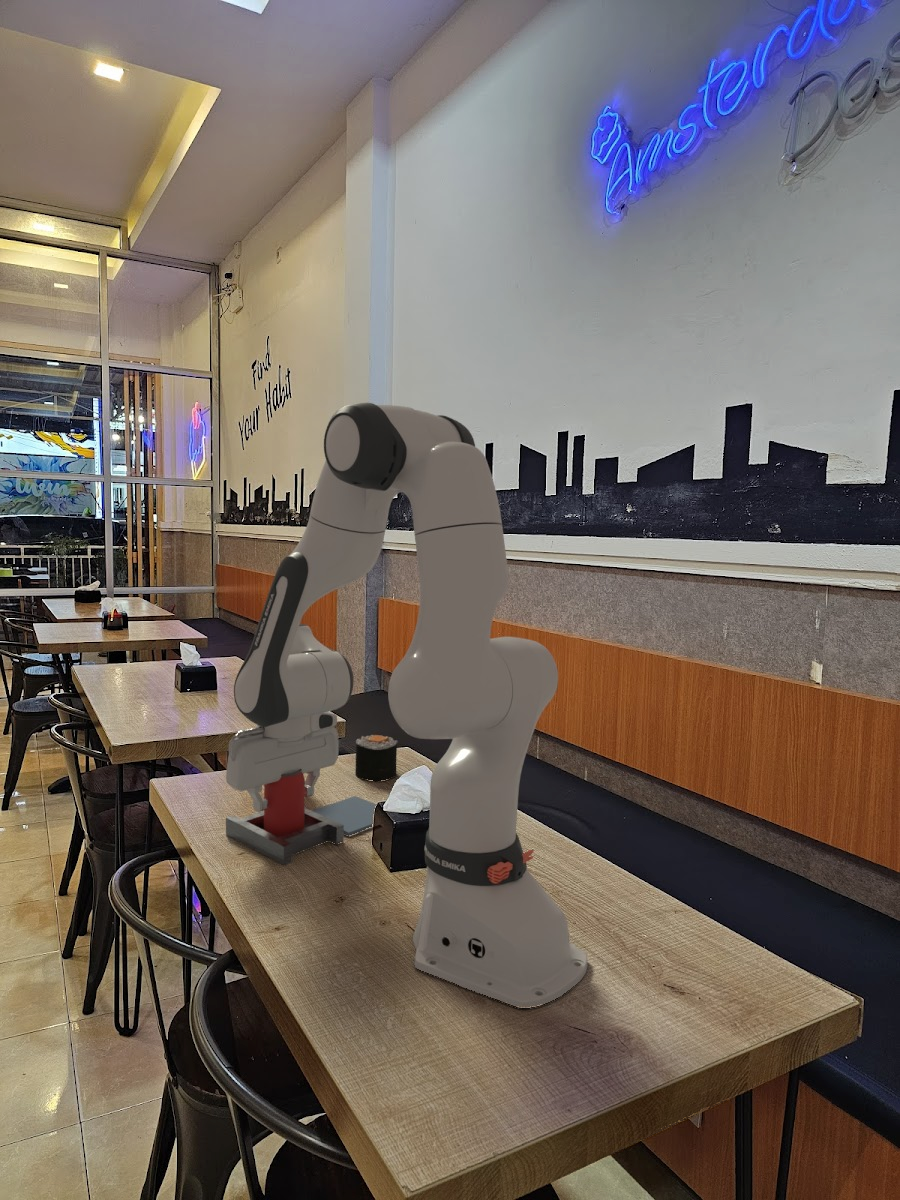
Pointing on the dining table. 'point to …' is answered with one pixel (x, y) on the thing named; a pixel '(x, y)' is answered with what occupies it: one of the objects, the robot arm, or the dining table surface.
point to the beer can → (285, 804)
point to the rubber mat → (350, 814)
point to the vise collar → (286, 845)
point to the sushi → (376, 757)
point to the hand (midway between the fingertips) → (284, 802)
